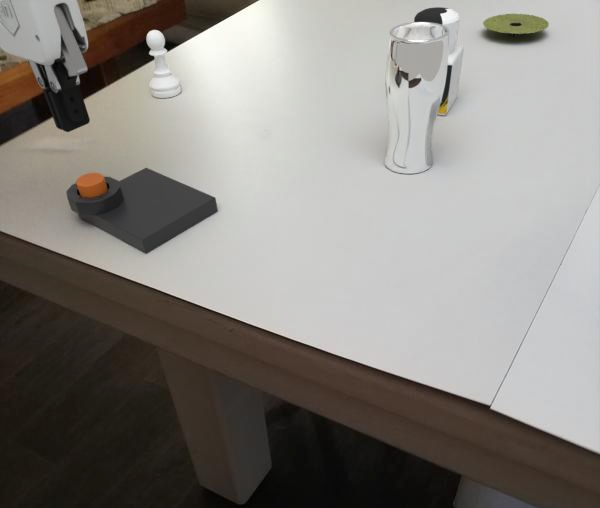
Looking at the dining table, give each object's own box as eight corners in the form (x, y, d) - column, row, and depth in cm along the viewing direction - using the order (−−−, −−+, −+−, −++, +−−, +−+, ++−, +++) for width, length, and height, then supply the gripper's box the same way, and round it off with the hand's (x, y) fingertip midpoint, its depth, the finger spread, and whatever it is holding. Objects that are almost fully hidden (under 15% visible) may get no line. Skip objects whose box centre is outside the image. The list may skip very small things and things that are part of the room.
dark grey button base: (66, 219, 71) (56, 192, 68) (144, 179, 77) (137, 152, 74) (138, 259, 64) (130, 231, 62) (218, 212, 70) (213, 184, 68)
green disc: (468, 35, 107) (469, 23, 105) (508, 21, 111) (510, 9, 110) (518, 50, 101) (520, 37, 99) (559, 34, 105) (562, 21, 103)
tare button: (74, 193, 69) (70, 180, 68) (97, 182, 70) (93, 170, 69) (90, 201, 67) (86, 189, 66) (113, 190, 69) (109, 177, 68)
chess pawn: (146, 98, 95) (131, 35, 89) (158, 86, 99) (145, 24, 92) (175, 99, 94) (162, 36, 88) (186, 87, 98) (174, 25, 91)
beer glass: (369, 163, 76) (374, 32, 65) (407, 145, 79) (417, 17, 68) (409, 181, 72) (421, 46, 61) (447, 162, 75) (465, 29, 64)
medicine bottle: (397, 111, 87) (404, 17, 78) (411, 92, 91) (418, 2, 82) (445, 116, 84) (458, 20, 76) (457, 97, 89) (470, 4, 80)
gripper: (-84, -92, 51) (7, 123, 65) (2, -82, 44) (85, 157, 58) (-7, -107, 55) (65, 99, 68) (85, -100, 48) (145, 129, 61)
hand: (74, 125), depth 63 cm, fingers closed
